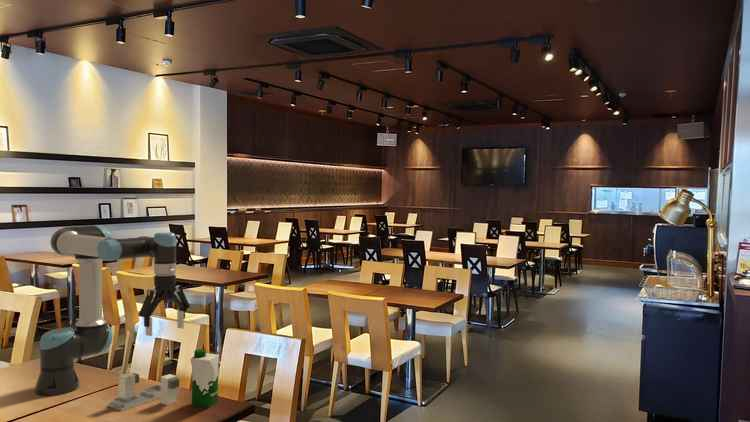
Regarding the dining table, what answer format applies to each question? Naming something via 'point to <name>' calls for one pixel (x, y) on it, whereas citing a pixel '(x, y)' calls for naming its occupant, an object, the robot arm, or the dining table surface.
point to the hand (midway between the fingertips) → (165, 331)
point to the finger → (169, 389)
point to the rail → (138, 398)
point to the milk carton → (204, 378)
